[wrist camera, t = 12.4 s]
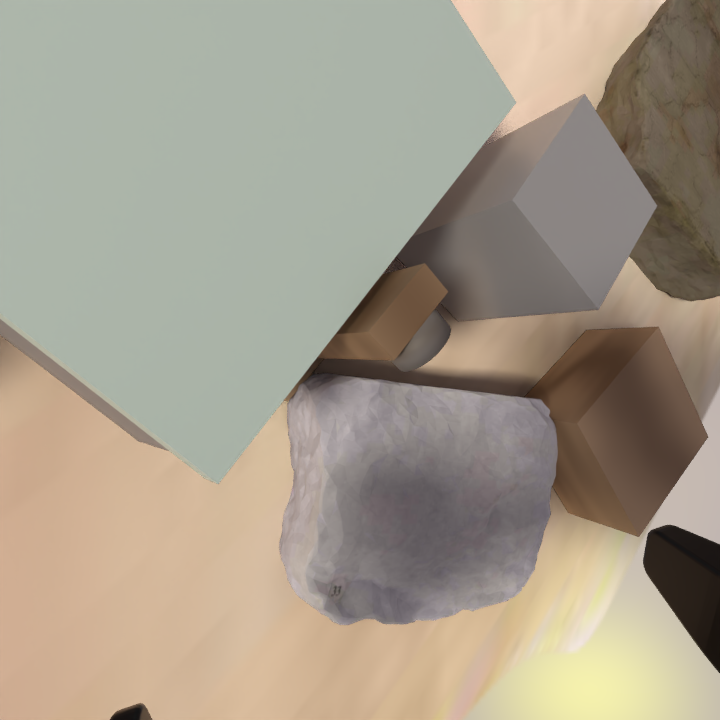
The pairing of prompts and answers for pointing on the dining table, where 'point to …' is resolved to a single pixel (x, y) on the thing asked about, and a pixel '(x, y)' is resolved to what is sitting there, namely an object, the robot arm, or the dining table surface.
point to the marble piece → (673, 143)
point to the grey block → (535, 221)
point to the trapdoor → (218, 191)
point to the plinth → (619, 426)
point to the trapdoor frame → (392, 323)
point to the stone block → (413, 497)
